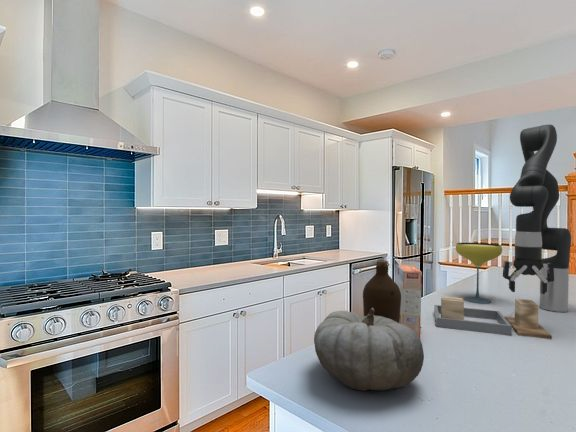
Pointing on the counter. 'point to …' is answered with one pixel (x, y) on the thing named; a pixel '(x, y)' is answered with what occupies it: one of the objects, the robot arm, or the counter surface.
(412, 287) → the cracker box
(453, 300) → the plain box
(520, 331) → the board
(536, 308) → the tan box
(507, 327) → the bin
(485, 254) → the cocktail glass
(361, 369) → the gourd
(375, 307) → the olive oil
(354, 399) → the counter surface
